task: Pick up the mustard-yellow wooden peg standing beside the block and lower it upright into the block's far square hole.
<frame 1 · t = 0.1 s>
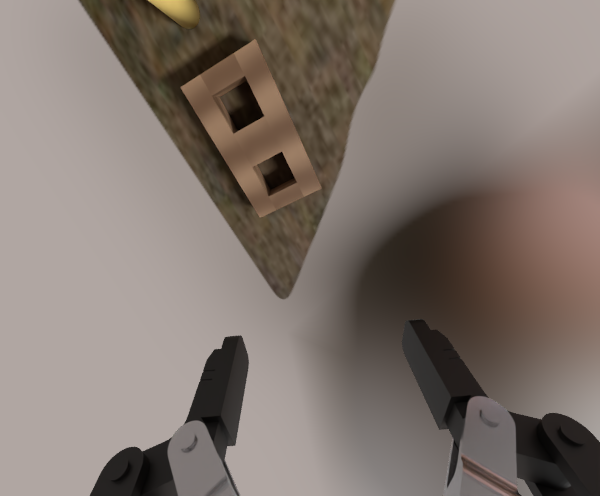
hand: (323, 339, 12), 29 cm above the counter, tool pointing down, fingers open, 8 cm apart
peg: (186, 11, 28), on the counter
hole block: (261, 140, 34), on the counter
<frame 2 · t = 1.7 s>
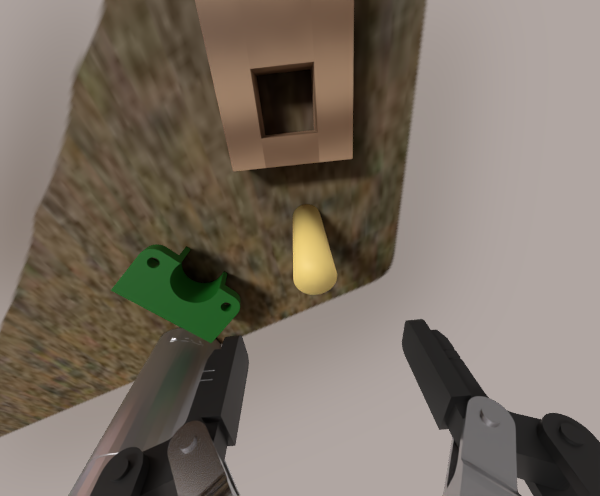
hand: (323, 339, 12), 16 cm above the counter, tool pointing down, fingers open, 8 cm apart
peg: (306, 217, 26), on the counter
clamp: (196, 271, 30), on the counter
hole block: (279, 37, 19), on the counter
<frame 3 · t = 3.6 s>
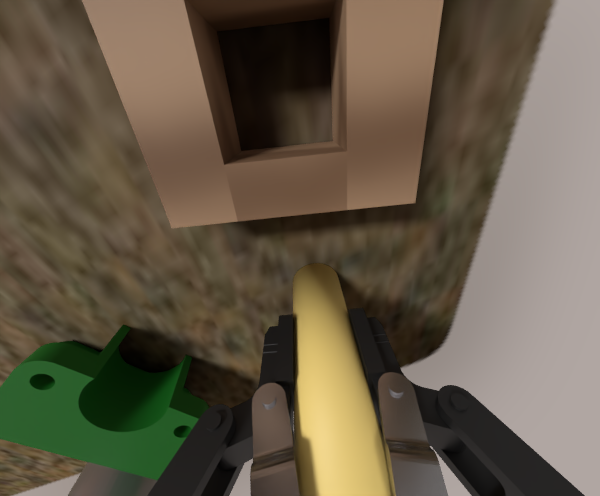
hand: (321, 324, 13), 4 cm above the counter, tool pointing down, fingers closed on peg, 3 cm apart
peg: (315, 282, 16), on the counter, touching gripper
clamp: (146, 354, 20), on the counter
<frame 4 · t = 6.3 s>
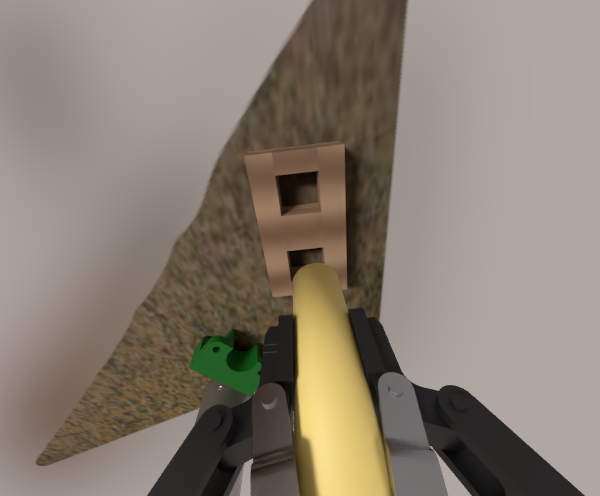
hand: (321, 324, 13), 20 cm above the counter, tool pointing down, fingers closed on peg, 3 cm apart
peg: (315, 282, 16), point 16 cm above the counter, touching gripper
clamp: (237, 342, 42), on the counter
hole block: (302, 221, 31), on the counter
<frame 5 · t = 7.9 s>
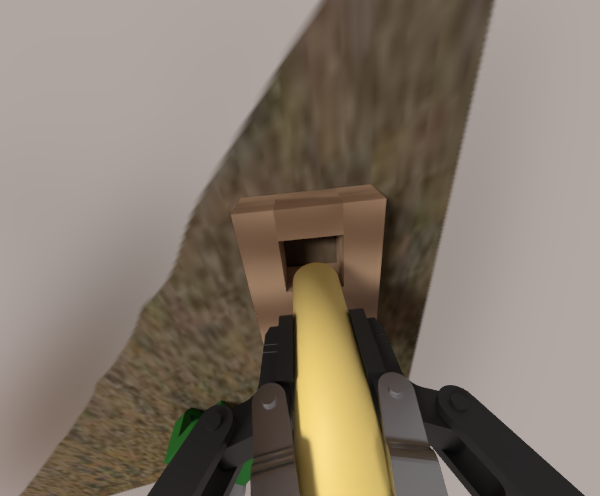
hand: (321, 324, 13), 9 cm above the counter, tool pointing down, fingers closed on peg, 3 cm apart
peg: (315, 281, 16), point 6 cm above the counter, touching gripper
clamp: (228, 413, 34), on the counter
hole block: (313, 284, 23), on the counter
when the fingers open (5 cm above the counter, at t = 9.0 s): peg drops 2 cm, resting in hole block.
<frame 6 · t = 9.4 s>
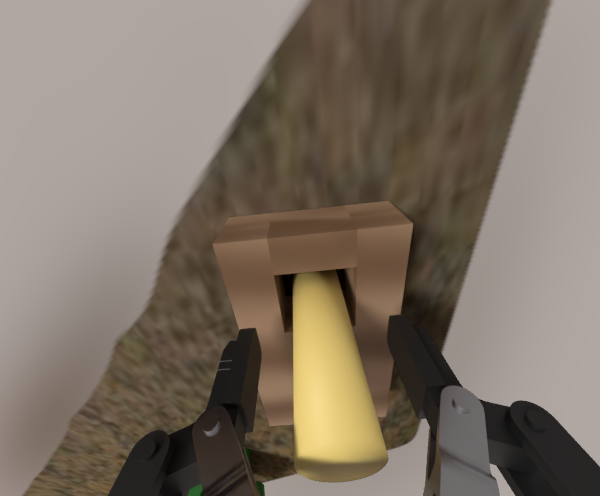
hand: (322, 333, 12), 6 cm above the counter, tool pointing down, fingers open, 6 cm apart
peg: (313, 268, 17), resting in hole block
hole block: (317, 315, 20), on the counter
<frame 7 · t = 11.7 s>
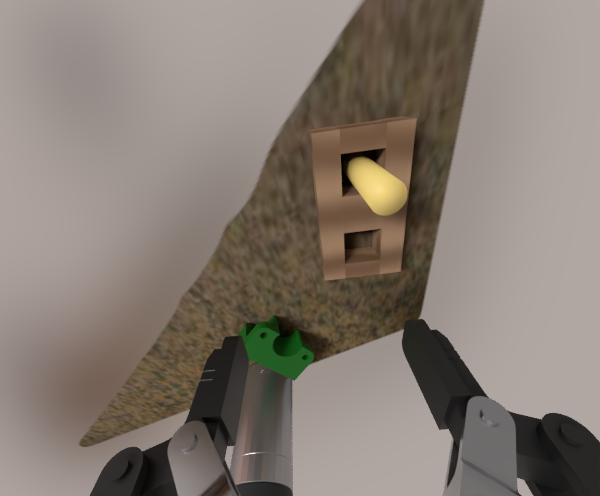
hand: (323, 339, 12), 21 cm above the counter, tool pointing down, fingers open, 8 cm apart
peg: (355, 166, 28), resting in hole block
clamp: (278, 328, 43), on the counter
hole block: (355, 202, 31), on the counter
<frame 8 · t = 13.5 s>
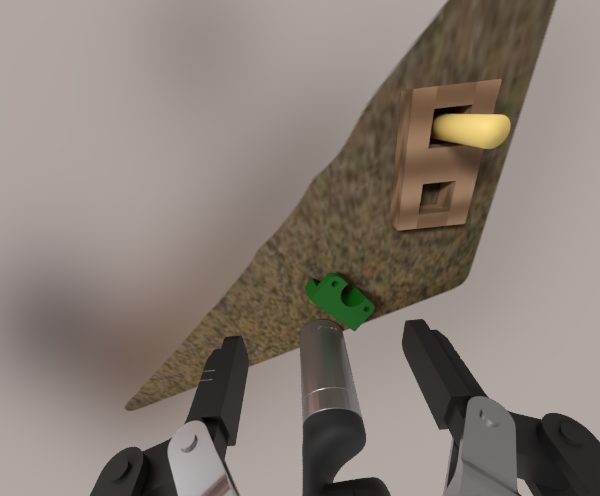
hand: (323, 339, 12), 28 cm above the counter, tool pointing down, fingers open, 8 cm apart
peg: (435, 126, 33), resting in hole block
clamp: (337, 286, 47), on the counter
hole block: (429, 160, 35), on the counter
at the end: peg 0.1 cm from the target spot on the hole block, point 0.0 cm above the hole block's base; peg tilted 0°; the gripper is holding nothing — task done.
